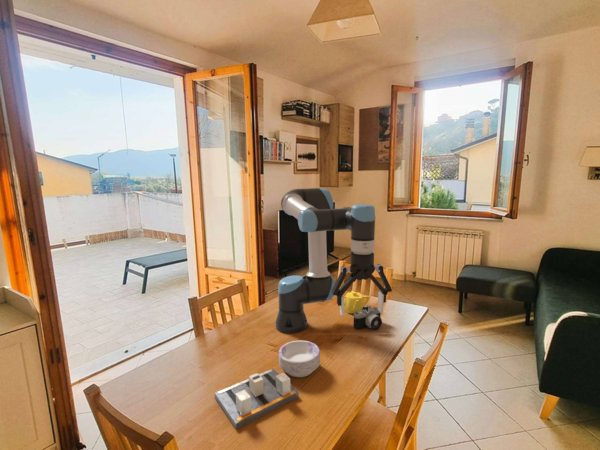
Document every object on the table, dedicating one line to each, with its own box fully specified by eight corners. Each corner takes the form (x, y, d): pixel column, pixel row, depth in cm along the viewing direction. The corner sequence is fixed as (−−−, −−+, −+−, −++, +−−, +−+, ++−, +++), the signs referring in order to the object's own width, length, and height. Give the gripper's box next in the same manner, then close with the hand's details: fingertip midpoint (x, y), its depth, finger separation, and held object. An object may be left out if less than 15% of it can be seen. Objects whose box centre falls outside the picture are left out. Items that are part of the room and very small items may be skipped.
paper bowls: (273, 363, 122) (272, 344, 121) (309, 354, 128) (309, 336, 127) (287, 387, 109) (287, 366, 107) (327, 376, 115) (327, 355, 113)
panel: (215, 398, 104) (213, 378, 103) (273, 373, 117) (272, 354, 115) (236, 429, 91) (234, 406, 90) (298, 397, 104) (298, 377, 103)
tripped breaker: (249, 390, 104) (249, 375, 103) (257, 386, 106) (257, 372, 105) (255, 397, 101) (254, 382, 100) (263, 393, 103) (263, 378, 102)
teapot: (373, 311, 167) (373, 293, 165) (357, 319, 159) (357, 299, 157) (352, 304, 177) (352, 286, 176) (336, 310, 169) (337, 292, 167)
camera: (361, 336, 143) (362, 314, 141) (349, 327, 150) (350, 307, 149) (388, 328, 150) (389, 307, 148) (375, 320, 157) (376, 301, 156)
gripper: (327, 256, 100) (327, 320, 103) (403, 252, 103) (401, 314, 106) (322, 250, 107) (322, 310, 110) (393, 247, 110) (391, 305, 114)
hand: (361, 312), depth 108 cm, fingers open, 13 cm apart
